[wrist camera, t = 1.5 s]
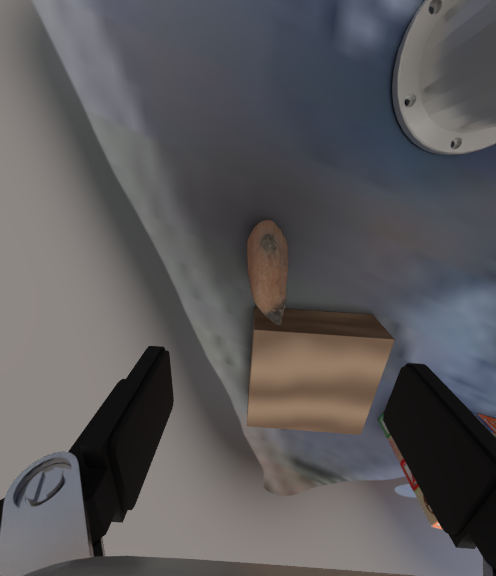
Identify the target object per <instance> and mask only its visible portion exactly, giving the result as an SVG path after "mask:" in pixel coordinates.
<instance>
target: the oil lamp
mask: <svg viewBox="0 0 496 576" xmlns="http://www.w3.org/2000/svg"><path fill="white" fill-rule="evenodd" d="M247 265H248V276H249V281H250V287H251V291H252V296H253V299H254V301H255V303H256V305H257V306H258V308H259V309H260V310H261V311H262V312H263V313H264V315H265V316H266V317H267V318H269V319H270V320H271V321H272V322H274V323H276V324H278V325H281V324H282V315H283V313H284V309H285V305H286V283H287V271H288V246H287V241H286V238H285V236H284V235H283V234H282V231H281V230H280V229H279V227H278V226H277V225H276V224H275V223H274V222H273V221H271V220H264V221H262V222H260V223H259V224H257V225H256V226H255V227H254V229H253V230H252V232H251V234H250V236H249V238H248V241H247Z"/></svg>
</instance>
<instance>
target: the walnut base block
mask: <svg viewBox="0 0 496 576" xmlns="http://www.w3.org/2000/svg"><path fill="white" fill-rule="evenodd" d="M394 340H395V339H394V338H393V337H392V336H391V335H390V334H389V333H388V331H387V330H386V329H385V328H384V327H383V326H382V325H381V324H380V323H379V321H378V320H377V319H376V318H375V317H374V316H373V315H370V314H355V313H341V312H326V311H311V310H296V309H284V313H283V315H282V324H281V325H278V324H276V323H274V322H272V321H271V320H270V319H269V318H267V317H266V316H265V315H264V313H263V312H262V311H261V310H260V309H259V308H258V307H255V311H254V325H253V338H252V351H251V365H250V378H249V391H248V410H247V426H253V427H266V428H280V429H293V430H306V431H319V432H333V433H346V434H359V435H361V432H362V429H363V427H364V424H365V421H366V418H367V416H368V413H369V410H370V407H371V404H372V402H373V399H374V396H375V393H376V390H377V388H378V385H379V382H380V379H381V377H382V374H383V371H384V368H385V365H386V363H387V360H388V357H389V354H390V351H391V349H392V346H393V343H394Z"/></svg>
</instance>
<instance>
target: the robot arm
mask: <svg viewBox="0 0 496 576" xmlns="http://www.w3.org/2000/svg"><path fill="white" fill-rule="evenodd" d="M392 94H393V106H394V109H395V113H396V116H397V120H398V122H399V124H400V126H401V128H402V130H403V132H404V133H405V134H406V135H407V137H408V138H409V139H410V140H411V141H412V142H413V143H414V144H416V145H417V146H419V147H420V148H421V149H423V150H425V151H428V152H431V153H434V154H439V155H459V154H465V153H470V152H475V151H479V150H481V149H484V148H487V147H489V146H492V145H494V144H496V0H424V2H423V3H422V5H421V6H420V7H419V9H418V10H417V11H416V13H415V15H414V17H413V19H412V20H411V22H410V24H409V26H408V28H407V30H406V32H405V34H404V37H403V39H402V42H401V45H400V47H399V50H398V53H397V58H396V62H395V66H394V71H393V83H392ZM405 101H406V103H407V105H406V106H405ZM173 401H174V400H173V389H172V377H171V367H170V356H169V351H165V348H164V347H158V346H149V347H148V348H147V349H146V350H145V352H144V353H143V355H142V356H141V358H140V359H139V361H138V362H137V364H136V365H135V367H134V368H133V369H132V371H131V372H130V374H129V375H128V377H127V378H126V379H122V380H120V381H119V382H118V383H117V385H116V386H115V387H114V389H113V390H112V392H111V393H110V394H109V396H108V397H107V399H106V400H105V401H104V403H103V404H102V406H101V407H100V408H99V410H98V411H97V413H96V414H95V415H94V417H93V418H92V420H91V421H90V422H89V424H88V425H87V427H86V428H85V429H84V431H83V432H82V434H81V435H80V436H79V438H78V439H77V441H76V442H75V443H74V445H73V446H72V447H71V449H70V450H69V452H57V453H53V454H50V455H47V456H44V457H43V458H41V459H39V460H37V461H36V462H34V463H32V464H31V465H30V466H29V467H27V468H26V469H25V470H24V471H22V473H21V474H20V475H19V476H18V477H17V478H16V479H15V480H14V481H13V483H12V485H11V486H10V488H9V489H8V491H7V494H6V497H5V498H4V499H2V500H0V576H412V575H400V574H388V573H375V572H361V571H349V570H336V569H335V570H334V569H322V568H308V567H295V566H282V565H268V564H254V563H240V562H224V561H211V560H196V559H179V558H158V557H135V556H110V557H108V556H107V557H106V556H105V550H104V544H103V538H102V537H103V536H104V535H105V534H106V533H107V531H108V528H109V526H110V524H111V522H123V520H124V518H125V515H126V513H127V510H132V509H133V507H134V506H135V504H136V501H137V499H138V496H139V493H140V491H141V488H142V486H143V483H144V480H145V478H146V475H147V473H148V470H149V467H150V465H151V462H152V460H153V457H154V455H155V452H156V449H157V447H158V444H159V441H160V439H161V436H162V434H163V431H164V428H165V426H166V423H167V421H168V418H169V415H170V413H171V410H172V407H173ZM383 420H384V423H385V425H386V427H387V429H388V431H389V433H390V435H391V436H392V438H393V440H394V442H395V444H396V446H397V447H398V449H399V451H400V453H401V455H402V457H403V458H404V460H405V462H406V464H407V466H408V468H409V469H410V471H411V473H412V475H413V477H414V479H415V480H416V482H417V484H418V486H419V488H420V490H421V491H422V493H423V495H424V497H425V499H426V501H427V502H428V504H429V506H430V508H431V510H432V512H433V513H434V515H435V517H436V519H437V521H438V523H439V524H440V526H441V528H442V529H443V530H444V531H445V532H446V533H448V534H449V536H450V538H451V539H452V541H453V543H454V545H455V546H456V547H457V548H458V547H459V548H471V549H475V547H476V546H477V548H478V549H479V551H480V553H481V554H482V556H483V576H496V437H495V436H494V435H493V434H492V433H491V432H490V431H489V430H488V429H487V428H486V427H485V426H484V425H483V424H482V423H481V422H480V421H479V420H478V419H477V417H476V416H475V415H474V414H473V413H472V412H471V411H470V410H469V409H468V408H467V407H466V406H465V405H464V404H463V403H462V402H461V401H460V400H459V399H458V398H457V397H456V396H455V395H454V394H453V393H452V391H451V390H450V389H449V388H448V387H447V386H446V385H445V384H444V383H443V382H442V381H441V380H440V379H439V378H438V377H437V376H436V375H435V374H434V373H433V372H432V371H431V370H430V369H429V368H428V367H427V366H426V365H424V364H414V363H407V364H406V365H405V367H402V368H401V370H400V373H399V375H398V378H397V380H396V383H395V385H394V388H393V391H392V393H391V396H390V398H389V401H388V404H387V406H386V409H385V411H384V414H383Z"/></svg>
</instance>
